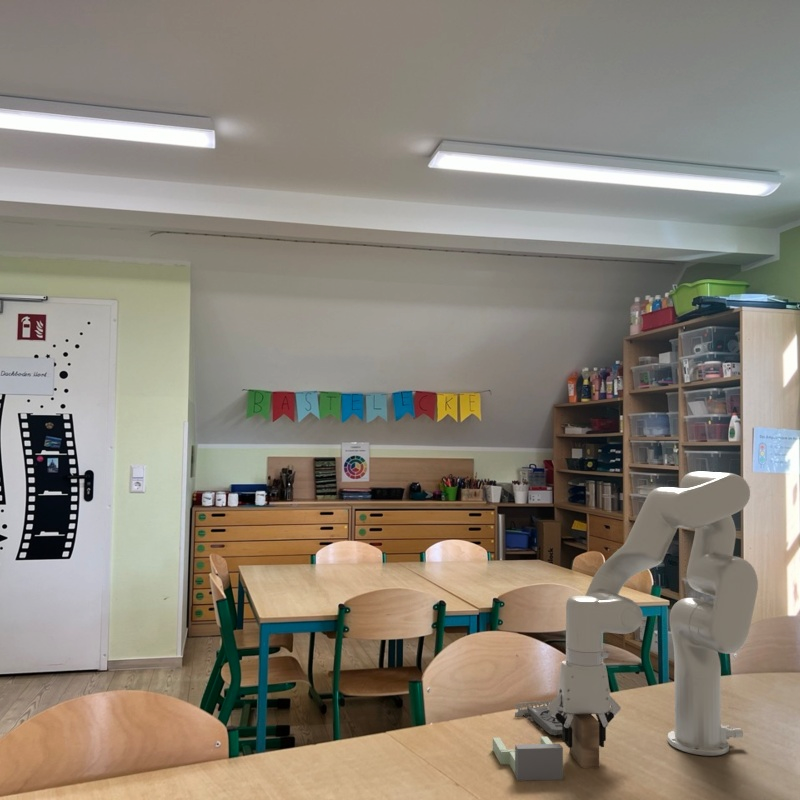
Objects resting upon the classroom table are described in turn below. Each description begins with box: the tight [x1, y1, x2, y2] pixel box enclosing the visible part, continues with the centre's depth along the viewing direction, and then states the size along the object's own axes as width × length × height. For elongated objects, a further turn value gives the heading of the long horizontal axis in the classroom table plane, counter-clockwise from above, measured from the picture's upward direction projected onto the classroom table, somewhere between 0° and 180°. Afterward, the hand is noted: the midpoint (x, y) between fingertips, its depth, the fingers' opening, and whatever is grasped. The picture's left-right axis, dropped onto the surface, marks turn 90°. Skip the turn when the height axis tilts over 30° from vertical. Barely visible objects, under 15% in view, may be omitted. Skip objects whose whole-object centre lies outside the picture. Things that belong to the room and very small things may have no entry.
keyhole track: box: [492, 736, 564, 782], centre depth 152 cm, size 12×15×6 cm
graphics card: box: [514, 699, 564, 736], centre depth 173 cm, size 17×4×12 cm
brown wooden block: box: [569, 714, 600, 769], centre depth 155 cm, size 4×8×9 cm, turn 6°
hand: (583, 744), depth 155 cm, fingers open, 6 cm apart
